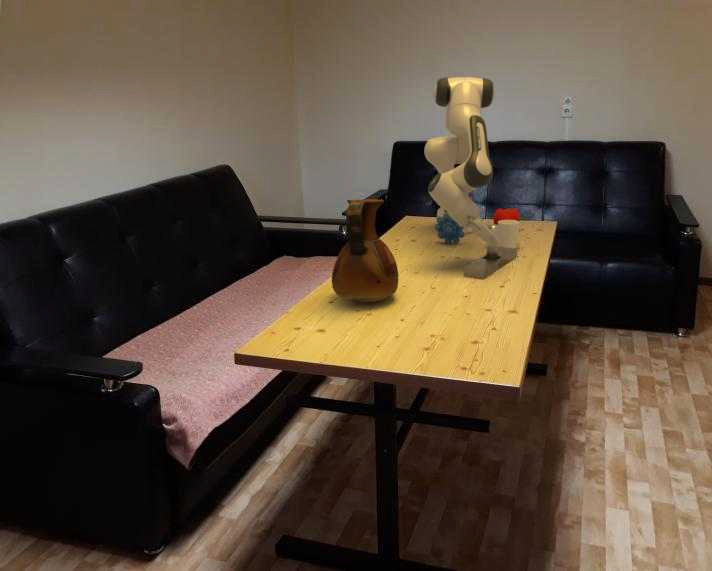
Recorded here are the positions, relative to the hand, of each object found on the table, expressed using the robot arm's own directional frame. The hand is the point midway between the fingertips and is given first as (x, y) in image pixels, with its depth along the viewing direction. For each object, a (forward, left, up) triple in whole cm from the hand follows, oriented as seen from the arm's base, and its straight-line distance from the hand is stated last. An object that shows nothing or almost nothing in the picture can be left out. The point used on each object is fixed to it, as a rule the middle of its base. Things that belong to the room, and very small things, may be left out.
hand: (494, 241), depth 234 cm
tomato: (-56, -16, -9) cm, 59 cm away
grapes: (-22, -27, -9) cm, 35 cm away
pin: (0, -1, -6) cm, 6 cm away
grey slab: (0, -1, -9) cm, 9 cm away
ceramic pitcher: (+51, -21, -9) cm, 56 cm away
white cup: (-27, -5, -9) cm, 28 cm away
